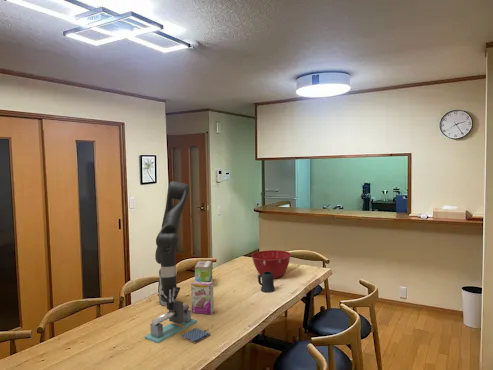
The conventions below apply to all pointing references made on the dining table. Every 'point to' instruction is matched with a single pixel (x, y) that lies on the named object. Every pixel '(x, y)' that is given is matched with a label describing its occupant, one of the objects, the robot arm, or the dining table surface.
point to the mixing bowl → (271, 262)
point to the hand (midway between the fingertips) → (169, 309)
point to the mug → (267, 282)
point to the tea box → (203, 271)
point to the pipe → (157, 327)
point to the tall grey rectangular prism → (177, 312)
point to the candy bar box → (202, 297)
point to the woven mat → (195, 335)
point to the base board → (170, 330)
